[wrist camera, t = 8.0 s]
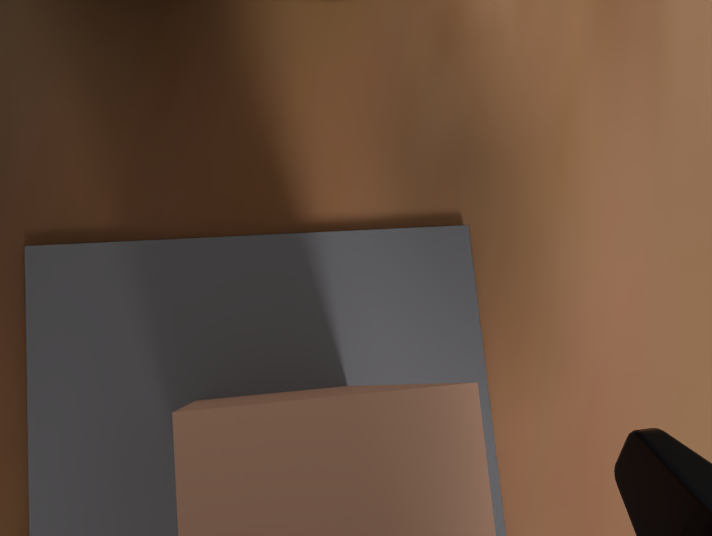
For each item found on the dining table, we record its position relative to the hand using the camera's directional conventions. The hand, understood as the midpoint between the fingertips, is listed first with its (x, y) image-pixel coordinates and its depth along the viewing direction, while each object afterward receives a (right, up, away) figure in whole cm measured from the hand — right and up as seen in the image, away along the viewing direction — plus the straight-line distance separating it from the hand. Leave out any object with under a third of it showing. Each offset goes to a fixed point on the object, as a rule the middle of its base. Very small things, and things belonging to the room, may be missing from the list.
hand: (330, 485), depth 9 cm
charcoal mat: (-2, -2, +9) cm, 9 cm away
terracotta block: (-2, -2, +8) cm, 9 cm away
